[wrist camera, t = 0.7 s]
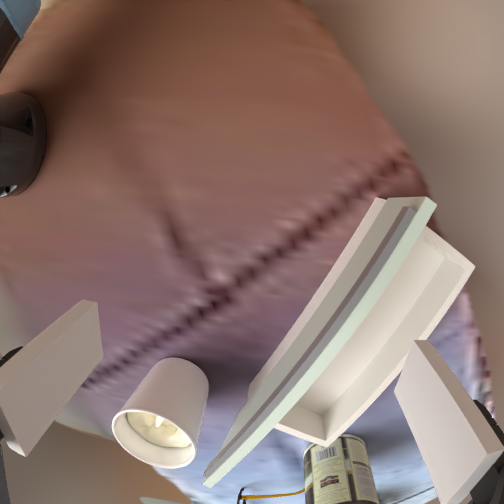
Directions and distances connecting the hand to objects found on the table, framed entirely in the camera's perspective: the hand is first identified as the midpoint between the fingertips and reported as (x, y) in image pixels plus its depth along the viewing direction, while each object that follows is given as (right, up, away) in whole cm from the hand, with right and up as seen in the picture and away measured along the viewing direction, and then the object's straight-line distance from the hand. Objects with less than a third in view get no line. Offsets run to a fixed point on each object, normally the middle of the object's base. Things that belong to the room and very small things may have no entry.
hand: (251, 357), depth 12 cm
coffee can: (+13, -28, +31) cm, 43 cm away
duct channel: (+12, -5, +25) cm, 28 cm away
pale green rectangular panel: (+5, -4, +13) cm, 14 cm away
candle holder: (-10, -13, +29) cm, 33 cm away
